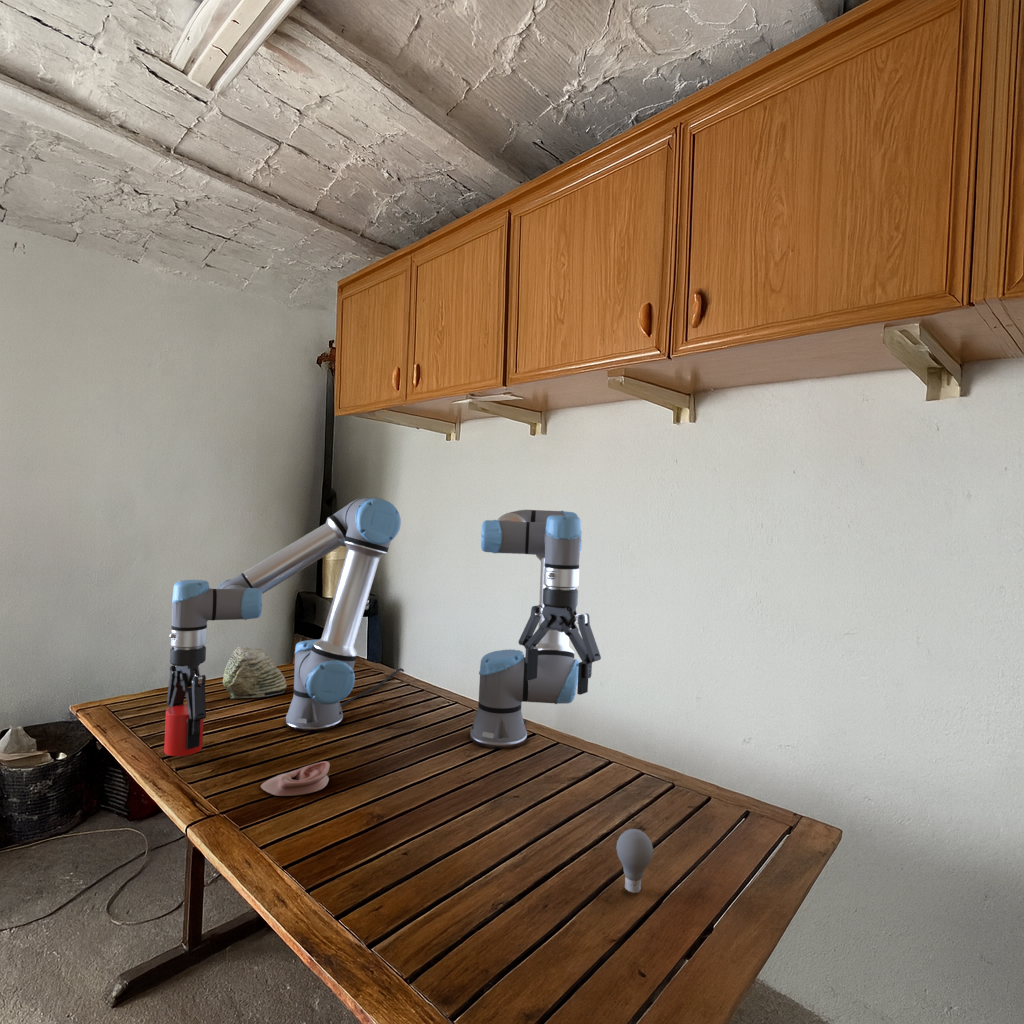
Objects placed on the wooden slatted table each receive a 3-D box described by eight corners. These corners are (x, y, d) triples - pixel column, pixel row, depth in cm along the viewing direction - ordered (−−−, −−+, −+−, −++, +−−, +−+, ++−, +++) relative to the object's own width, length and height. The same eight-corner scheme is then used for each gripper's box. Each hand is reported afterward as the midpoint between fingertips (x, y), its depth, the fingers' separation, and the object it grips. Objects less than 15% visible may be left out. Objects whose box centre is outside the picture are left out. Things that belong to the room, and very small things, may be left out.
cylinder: (192, 740, 155) (193, 701, 155) (208, 749, 150) (210, 709, 150) (157, 749, 149) (159, 709, 148) (174, 759, 144) (175, 717, 144)
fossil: (218, 695, 195) (220, 647, 195) (278, 685, 208) (279, 640, 207) (228, 703, 189) (230, 653, 188) (289, 692, 201) (290, 645, 201)
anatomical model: (253, 773, 134) (283, 753, 145) (252, 792, 134) (282, 770, 145) (310, 782, 131) (336, 760, 142) (309, 801, 131) (335, 777, 143)
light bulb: (610, 879, 108) (613, 822, 108) (644, 879, 109) (647, 822, 109) (619, 902, 102) (622, 840, 102) (655, 901, 103) (658, 840, 103)
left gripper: (153, 640, 153) (149, 734, 153) (191, 657, 140) (187, 759, 140) (185, 636, 159) (181, 726, 159) (225, 652, 145) (221, 750, 146)
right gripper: (505, 581, 141) (501, 676, 142) (600, 596, 125) (595, 703, 125) (527, 579, 147) (523, 670, 147) (620, 593, 130) (615, 695, 131)
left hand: (184, 742), depth 149 cm, fingers closed on cylinder, 8 cm apart
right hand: (556, 685), depth 136 cm, fingers open, 13 cm apart
